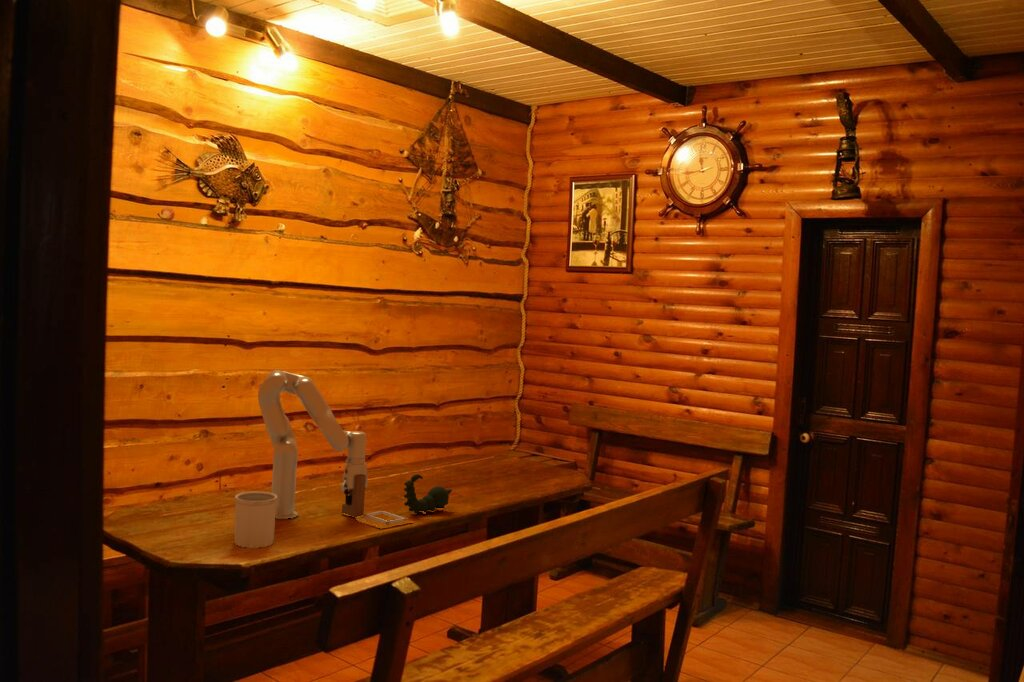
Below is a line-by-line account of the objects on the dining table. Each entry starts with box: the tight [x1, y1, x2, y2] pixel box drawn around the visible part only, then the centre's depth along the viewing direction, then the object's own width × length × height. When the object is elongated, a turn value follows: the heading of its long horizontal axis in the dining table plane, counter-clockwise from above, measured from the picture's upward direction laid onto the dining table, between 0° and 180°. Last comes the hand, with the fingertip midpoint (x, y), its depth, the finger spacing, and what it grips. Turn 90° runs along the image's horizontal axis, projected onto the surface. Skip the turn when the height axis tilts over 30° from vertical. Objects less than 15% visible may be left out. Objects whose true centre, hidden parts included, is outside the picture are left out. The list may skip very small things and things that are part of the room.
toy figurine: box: [403, 474, 453, 514], centre depth 373 cm, size 9×19×25 cm
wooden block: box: [341, 475, 366, 517], centre depth 359 cm, size 9×4×18 cm, turn 52°
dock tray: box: [356, 510, 407, 526], centre depth 353 cm, size 18×16×2 cm
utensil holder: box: [234, 490, 277, 549], centre depth 311 cm, size 15×15×18 cm
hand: (353, 503), depth 359 cm, fingers closed on wooden block, 4 cm apart
